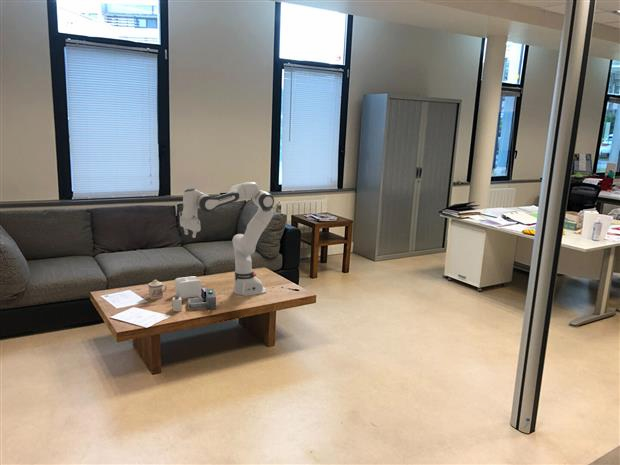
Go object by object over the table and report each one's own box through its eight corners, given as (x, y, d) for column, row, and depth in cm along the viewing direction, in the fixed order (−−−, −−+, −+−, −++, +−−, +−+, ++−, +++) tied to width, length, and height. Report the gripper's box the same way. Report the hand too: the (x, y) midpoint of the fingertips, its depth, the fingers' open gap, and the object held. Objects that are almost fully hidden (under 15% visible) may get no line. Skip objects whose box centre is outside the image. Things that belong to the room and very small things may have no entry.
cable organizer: (178, 299, 315) (178, 282, 312) (174, 294, 324) (174, 277, 321) (201, 296, 322) (201, 279, 319) (197, 291, 331) (196, 275, 328)
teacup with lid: (152, 300, 312) (151, 283, 309) (146, 296, 319) (145, 279, 316) (169, 296, 320) (169, 279, 317) (163, 292, 326) (163, 276, 324)
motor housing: (213, 300, 316) (212, 286, 314) (216, 309, 302) (216, 295, 300) (187, 302, 312) (187, 288, 309) (189, 311, 297) (189, 297, 295)
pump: (181, 307, 302) (180, 293, 300) (181, 310, 298) (181, 296, 296) (172, 308, 301) (172, 294, 299) (173, 311, 296) (172, 297, 294)
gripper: (203, 217, 300) (203, 238, 303) (186, 211, 314) (186, 232, 317) (194, 217, 295) (194, 240, 298) (177, 212, 310) (178, 233, 313)
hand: (190, 236), depth 308 cm, fingers open, 8 cm apart
